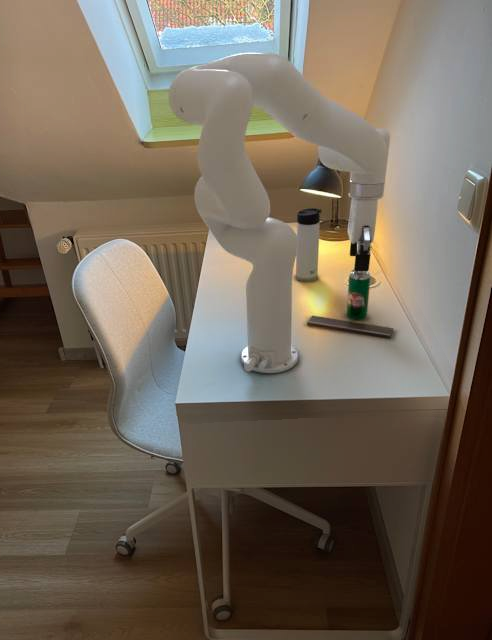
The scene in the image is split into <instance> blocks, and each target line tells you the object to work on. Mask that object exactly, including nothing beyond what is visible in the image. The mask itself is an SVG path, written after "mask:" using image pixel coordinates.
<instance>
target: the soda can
mask: <svg viewBox="0 0 492 640" xmlns="http://www.w3.org/2000/svg"><path fill="white" fill-rule="evenodd" d="M371 278H372V276H371V274H370V270H368V271H355V270H354V269H352V270H350V274H349V275H348V287H347V299H346V300H347V301H346V313H345V315H346V316H347V318H348V319H350V320H353V321H362V320H364V319H366V318H367V316H368V310H369V300H370V290H371V289H370V287H371Z"/></svg>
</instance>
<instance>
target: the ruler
mask: <svg viewBox="0 0 492 640" xmlns="http://www.w3.org/2000/svg"><path fill="white" fill-rule="evenodd" d="M306 325H307V326H311V327H316V328H322V329H328V330H333V331H340V332H345V333H352V334H359V335H365V336H369V337H375V338H383V339H389V340H390V339H391V338H392V335H393V333H394V327H388V326H382V325H376V324H369V323H364V322H363V323H362V322H356V321H349V320H345V319H344V320H343V319H337V318H330V317H324V316H317V315H311V317H309V319H308V320H307V323H306Z"/></svg>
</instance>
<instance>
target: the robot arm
mask: <svg viewBox="0 0 492 640" xmlns="http://www.w3.org/2000/svg"><path fill="white" fill-rule="evenodd" d="M168 103H169V107H170V109H171V111H172V112H173V114H174V115H175V117H177V118H178V119H179V120H180V121H182V122H184V123H187V124H190V125H197V126H202V128H201V133H200V135H199V136H200V137H199V140H198V141H199V142H198V147H197V151H196V152H197V153H196V163H197V167H198V170H199V172H200V175H201V176H200V177H199V179H198V181H197V182H196V184H195V188H194V192H193V199H194V204H195V208H196V211H197V213H198V214H199V217H200V218H201V220H202V221H203V222H204V224H205V225H206V227H207V228H208V230H209V231H210V233H211V234H212V236H213V237H214V238H215V240H216V241H217V243H218V245H220V247H221V248H222V250H224V251H225V252H226V253H228V254H230V255H232V256H234V257H236V258H238V259H241V260H243V261H246V262H248V263H250V264H251V265H252V270H251V272H250V273H249V276H248V277H247V280H246V284H245V300H246V301H245V302H246V329H247V331H246V332H247V335H246V336H247V346H246V347H244V348H243V349H242V351H241V354H240V355H241V356H240V359H241V362H242V364H243V369H244V371H246V372H249V373H250V372H256V373H262V374H277V373H278V374H279V373H282V372H285V371H288V370H290V369H291V368H293V367H294V366H296V364H297V363H298V359H299V353H298V350H297V349H296V348H295V347H294V346H293V345H292V315H293V313H292V312H293V311H292V309H293V278H294V277H293V275H294V267H295V264H296V254H297V249H298V238H297V232H296V231H295V229H293V228H292V226H290V225H289V224H287V223H286V222H284V221H282V220H280V219H277V218H273V217H271V216H270V213H271V201H270V198H269V195H268V192H267V190H266V188H265V187H264V185H263V183H262V181H261V179H260V177H259V175H258V174H257V172H256V170H255V168H254V166H253V164H252V162H251V160H250V158H249V155H248V154H247V151H246V147H245V142H246V141H245V139H246V133H247V129H248V125H249V123H250V119H251V116H252V113H253V108H254V107H255V108H259V109H260V110H262V111H264V112H265V113H266V114H267V115H269V116H270V117H271V118H272V119H274V120H275V122H276V123H278V125H280V126H281V127H283V128H284V129H285V130H286V131H287V132H289V133H290V135H292V136H294V138H297V139H298V140H301V141H304V142H306V143H309V144H312V145H315V146H318V149H317V155H318V159H319V161H320V162H321V164H322V165H323V166H325V167H326V168H327V169H330V170H335V171H341V172H345V173H349V185H348V186H349V187H348V195H347V197H349V198H351V201H350V208H349V215H348V216H349V217H348V222H347V223H348V224H347V236H348V238H349V242H350V247H349V256H350V257H354V266H353V267H354V268H353V270H355V271H370V262H371V244H373V243H374V239H375V234H376V225H377V214H378V213H377V212H378V202H379V200H380V199H383V197H384V192H385V185H386V177H387V169H388V168H387V167H388V161H389V160H388V159H389V151H390V143H391V134H390V132H389V130H387V129H385V128H376V127H374V126H373V125H372V124H371V123H370V122H369V121H368V120H367V119H365V118H364V117H362V116H360V115H359V114H357V113H355V112H353V111H352V110H349V109H348V108H346V107H344V106H343V105H341V104H339V103H337V101H333V100H331V99H330V98H327V97H326V96H325V95H323V94H322V92H321V91H319V89H317V88H316V87H315V86H314V85H313V84H312V83H311V81H310V80H308V78H306V77H305V76H304V75H303V73H302V72H301V71H299V70H298V68H297V67H296V66H295V65H294V64H293V63H292V62H291V61H289V60H288V59H287V58H285V57H284V56H282V55H281V54H278V53H275V52H274V53H272V52H243V53H237V54H233V55H230V56H226V57H223V58H220V59H217V60H213V61H209V62H205V63H203V64H200V65H196V66H192V67H188V68H185V69H184V70H181V71H180V72H179V73H178V74H177V75H176V76H175V77H174V78H173V80H172V81H171V84H170V85H169V90H168Z"/></svg>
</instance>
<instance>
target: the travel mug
mask: <svg viewBox="0 0 492 640" xmlns="http://www.w3.org/2000/svg"><path fill="white" fill-rule="evenodd" d="M321 214H322V209H321V208H315V207H314V208H311V207H310V208H305V209H301V210H299V211H298V212H297V214H296V235H297V238H298V249H297V254H296V258H295V278H296V280H297V281H299V282H305V283H306V282H307V283H308V282H313V281H316V280H317V279H318V273H319V270H318V269H319V249H320V248H319V247H320V229H321V228H320V223H321V221H320V218H321V216H320V215H321Z"/></svg>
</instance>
